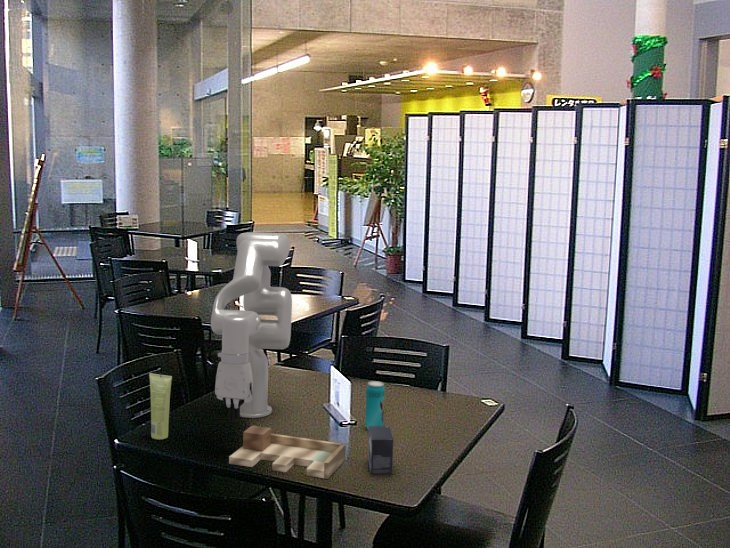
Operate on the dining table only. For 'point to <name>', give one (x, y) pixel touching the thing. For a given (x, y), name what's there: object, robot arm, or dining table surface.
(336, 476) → the dining table surface
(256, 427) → the walnut block
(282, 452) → the trap tray
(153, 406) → the tube
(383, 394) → the beverage can
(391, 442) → the small box
